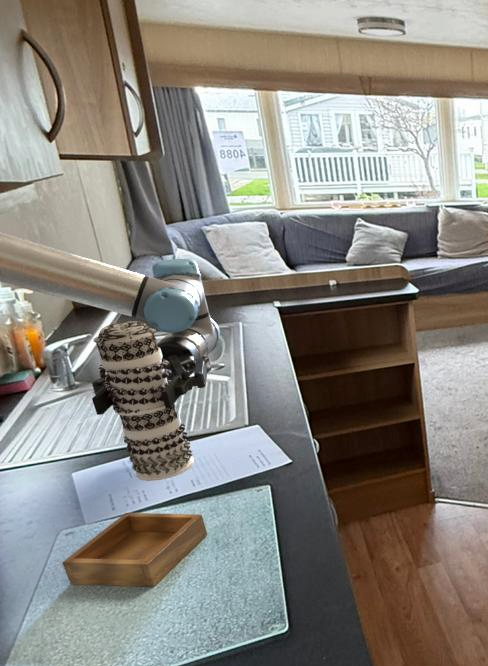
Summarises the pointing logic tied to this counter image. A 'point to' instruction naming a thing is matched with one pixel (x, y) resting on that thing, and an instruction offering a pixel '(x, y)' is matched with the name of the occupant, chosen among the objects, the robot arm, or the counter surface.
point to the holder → (136, 550)
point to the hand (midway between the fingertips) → (132, 403)
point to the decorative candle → (143, 400)
